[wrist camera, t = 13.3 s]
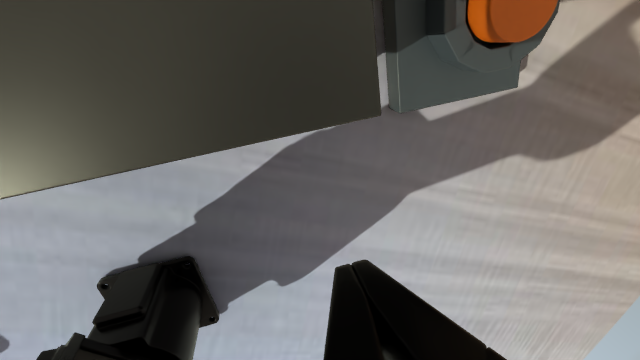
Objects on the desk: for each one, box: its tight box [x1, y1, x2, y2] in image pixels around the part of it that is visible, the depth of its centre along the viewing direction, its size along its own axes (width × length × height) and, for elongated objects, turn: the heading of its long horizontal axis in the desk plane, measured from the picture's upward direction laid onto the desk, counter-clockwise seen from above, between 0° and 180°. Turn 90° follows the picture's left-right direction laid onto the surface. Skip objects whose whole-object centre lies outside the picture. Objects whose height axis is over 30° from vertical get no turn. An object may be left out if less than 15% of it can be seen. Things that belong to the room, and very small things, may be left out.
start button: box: [467, 0, 558, 42], centre depth 15 cm, size 4×4×2 cm
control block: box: [382, 0, 560, 113], centre depth 17 cm, size 10×8×4 cm
